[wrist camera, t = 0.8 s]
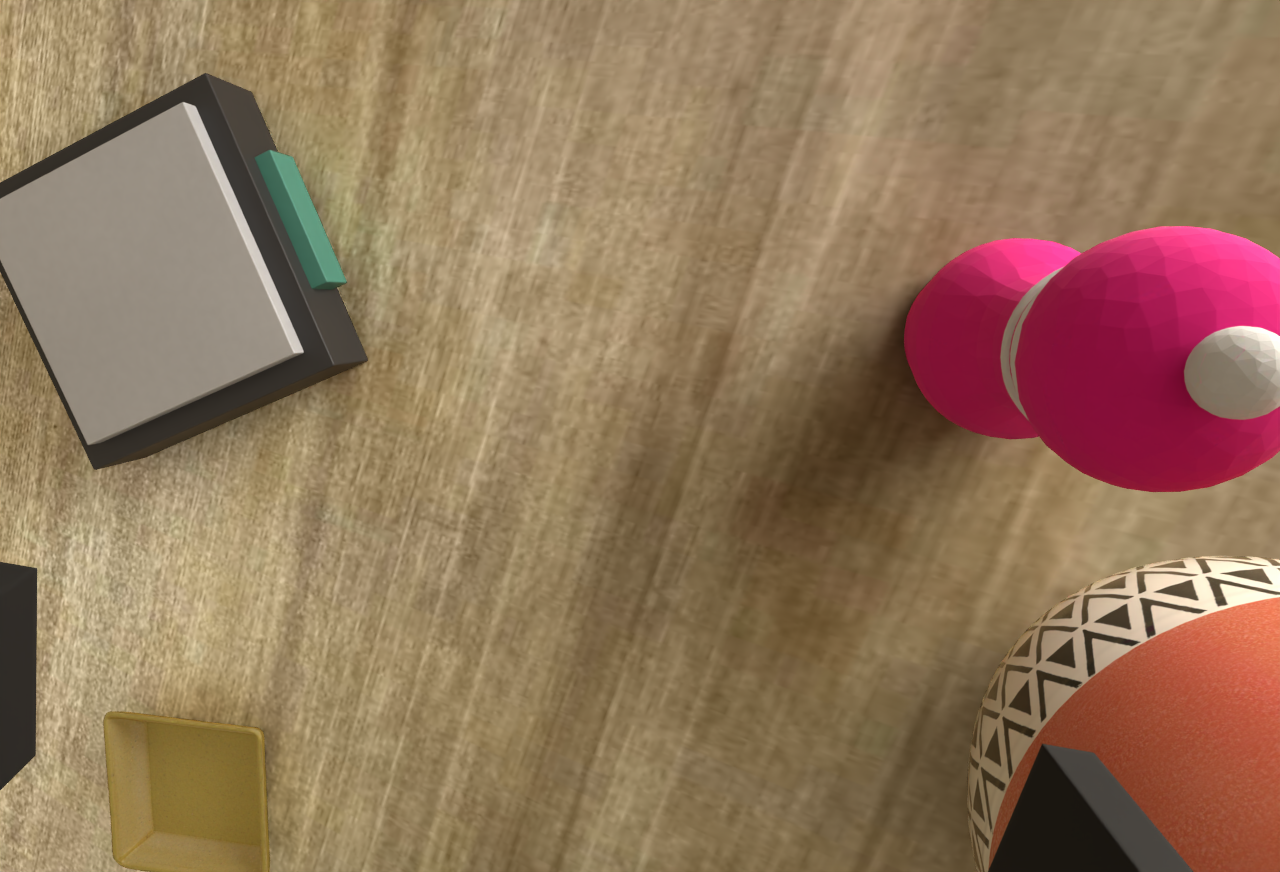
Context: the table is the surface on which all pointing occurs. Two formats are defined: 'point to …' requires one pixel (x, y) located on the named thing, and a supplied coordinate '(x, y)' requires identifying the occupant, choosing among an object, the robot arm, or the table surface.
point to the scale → (173, 273)
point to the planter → (1150, 706)
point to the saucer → (186, 794)
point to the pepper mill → (1111, 352)
